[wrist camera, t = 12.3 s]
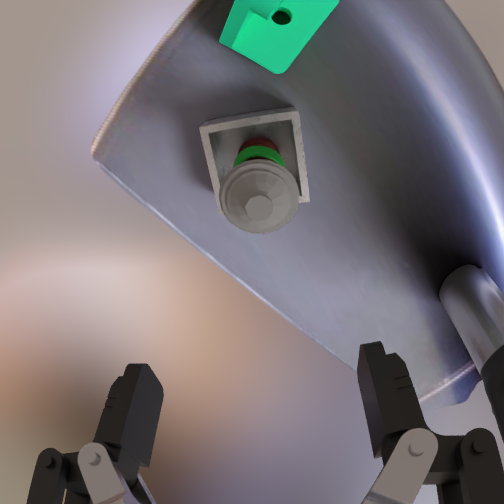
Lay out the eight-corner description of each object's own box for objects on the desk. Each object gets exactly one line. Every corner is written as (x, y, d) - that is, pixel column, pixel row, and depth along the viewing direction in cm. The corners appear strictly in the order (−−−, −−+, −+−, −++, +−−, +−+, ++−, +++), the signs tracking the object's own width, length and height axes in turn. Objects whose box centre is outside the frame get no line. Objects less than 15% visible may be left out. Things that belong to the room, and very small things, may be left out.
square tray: (293, 106, 33) (298, 110, 29) (304, 187, 38) (309, 201, 34) (205, 120, 34) (198, 127, 30) (223, 199, 39) (219, 214, 36)
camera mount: (279, 77, 31) (287, 78, 23) (221, 43, 29) (207, 32, 20) (337, 2, 26) (364, -20, 17) (280, -32, 24) (287, -66, 15)
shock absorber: (267, 189, 38) (271, 258, 25) (221, 163, 36) (201, 221, 24) (296, 147, 35) (319, 196, 22) (249, 119, 33) (244, 150, 21)
